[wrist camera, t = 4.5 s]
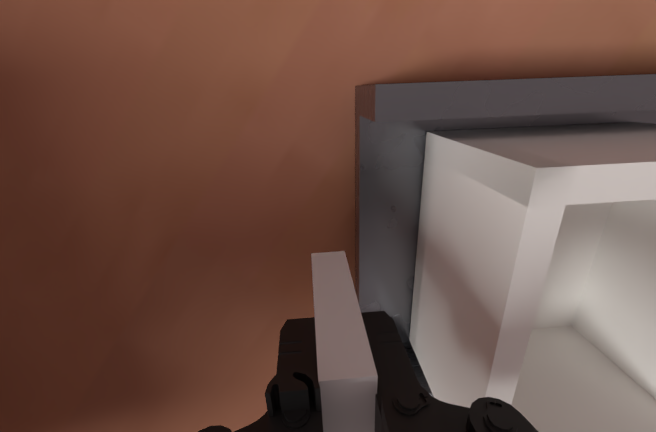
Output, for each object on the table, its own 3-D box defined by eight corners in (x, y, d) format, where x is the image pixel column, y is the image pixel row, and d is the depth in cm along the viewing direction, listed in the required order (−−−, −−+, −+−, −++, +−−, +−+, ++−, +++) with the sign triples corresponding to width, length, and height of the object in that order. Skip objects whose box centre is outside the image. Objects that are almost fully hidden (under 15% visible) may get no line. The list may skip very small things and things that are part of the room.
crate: (636, 122, 14) (909, 147, 8) (569, 326, 19) (708, 448, 12) (426, 131, 14) (536, 167, 7) (409, 339, 18) (467, 475, 12)
